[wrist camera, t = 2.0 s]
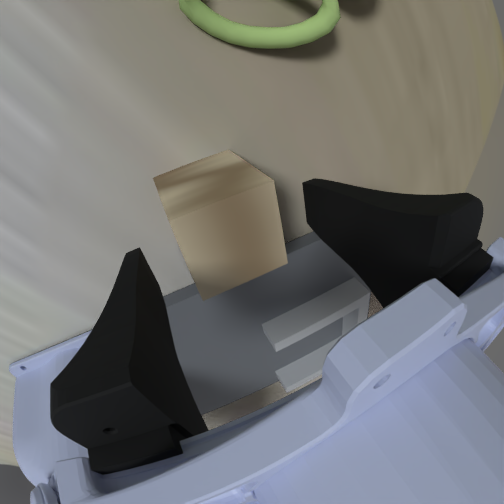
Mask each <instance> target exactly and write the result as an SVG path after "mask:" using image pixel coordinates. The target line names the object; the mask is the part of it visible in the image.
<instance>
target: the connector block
mask: <svg viewBox="0 0 504 504" xmlns="http://www.w3.org/2000/svg"><path fill="white" fill-rule="evenodd" d="M153 179H154V182H155V185H156V188H157V190H158V193H159V196H160V199H161V201H162V204H163V207H164V209H165V212H166V215H167V217H168V220H169V223H170V225H171V228H172V230H173V232H174V235H175V237H176V240H177V242H178V245H179V247H180V249H181V252H182V254H183V257H184V259H185V261H186V264H187V266H188V268H189V271H190V273H191V275H192V278H193V280H194V282H195V284H196V287H197V289H198V291H199V293H200V296H201V298H202V300H203V301H204V300H207V299H209V298H211V297H214V296H216V295H218V294H220V293H223V292H225V291H227V290H230V289H232V288H234V287H236V286H239V285H241V284H243V283H245V282H247V281H250V280H252V279H254V278H256V277H259V276H261V275H263V274H265V273H267V272H270V271H272V270H274V269H276V268H278V267H281V266H283V265H285V264H287V263H288V261H287V254H286V248H285V242H284V236H283V230H282V224H281V218H280V212H279V207H278V201H277V195H276V190H275V184H274V180H272V179H271V178H270V177H268V176H267V175H265V174H264V173H262V172H261V171H260V170H258V169H257V168H255V167H254V166H252V165H251V164H249V163H248V162H246V161H245V160H243V159H242V158H241V157H239V156H238V155H236V154H235V153H233V152H232V151H230V150H227V151H224V152H221V153H218V154H215V155H212V156H209V157H206V158H204V159H201V160H198V161H195V162H193V163H190V164H187V165H185V166H182V167H179V168H177V169H174V170H172V171H169V172H167V173H164V174H162V175H159V176H157V177H154V178H153Z"/></svg>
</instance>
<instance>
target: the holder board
mask: <svg viewBox="0 0 504 504" xmlns="http://www.w3.org/2000/svg"><path fill="white" fill-rule="evenodd" d="M285 248H286V254H287V261H288V263H287V264H285V265H283V266H281V267H278V268H276V269H274V270H272V271H270V272H267V273H265V274H263V275H261V276H259V277H256V278H254V279H252V280H250V281H247V282H245V283H243V284H241V285H239V286H236V287H234V288H232V289H230V290H227V291H225V292H223V293H220V294H218V295H216V296H214V297H211V298H209V299H207V300H204V301H203V300H202V298H201V296H200V293H199V291H198V289H197V287H196V284H195V283H194V284H192V285H189V286H187V287H185V288H182V289H180V290H178V291H175V292H173V293H171V294H168V295H166V296H164V297H163V298H164V301H165V304H166V309H167V314H168V318H169V323H170V328H171V332H172V337H173V341H174V346H175V350H176V353H177V357H178V360H179V362H180V365H181V368H182V371H183V373H184V376H185V378H186V381H187V383H188V386H189V388H190V391H191V393H192V396H193V398H194V400H195V402H196V405H197V407H198V409H199V411H200V414H201V415H203V414H205V413H208V412H210V411H213V410H215V409H218V408H220V407H222V406H225V405H227V404H229V403H232V402H234V401H236V400H239V399H241V398H243V397H245V396H247V395H250V394H252V393H254V392H256V391H258V390H260V389H263V388H265V387H267V386H269V385H271V384H273V383H275V382H277V381H280V383H281V384H282V386H283V388H284V389H285V391H286V393H287V392H289V391H291V390H293V389H295V388H297V387H299V386H301V385H303V384H305V383H307V382H308V381H310V380H312V379H314V378H316V377H318V376H319V375H321V374H322V368H323V364H324V361H325V359H326V356H327V353H328V351H329V350H330V349H331V348H332V347H333V345H334V344H335V343H336V342H337V341H338V339H339V338H340V337H341V336H343V335H344V334H345V333H347V332H348V331H349V330H351V329H352V328H353V327H354V326H356V325H357V324H359V323H361V322H362V321H364V320H366V319H367V318H368V311H369V303H370V295H371V290H370V289H369V287H368V286H367V285H366V284H365V282H364V281H363V280H362V279H361V278H360V276H359V275H358V274H357V273H356V272H355V271H354V270H353V269H352V268H351V267H350V266H349V265H348V264H347V263H346V262H345V261H344V260H343V259H342V258H341V257H340V256H338V255H337V254H336V253H335V252H334V251H333V250H332V249H331V248H330V247H329V246H328V245H327V244H325V243H324V242H323V241H322V240H321V239H320V238H319V237H318V235H317V234H316V233H315V232H314V231H313V232H311V233H309V234H306V235H304V236H302V237H300V238H297V239H295V240H293V241H291V242H288V243H286V244H285Z"/></svg>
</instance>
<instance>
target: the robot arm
mask: <svg viewBox="0 0 504 504" xmlns="http://www.w3.org/2000/svg"><path fill="white" fill-rule="evenodd" d="M302 184H303V192H304V201H305V209H306V218H307V223H308V224H309V226H310V227H311V228H312V229H313V231H314V232H315V233H316V234H317V235H318V237H319V238H320V239H321V240H322V241H323V242H324V243H325V244H327V245H328V246H329V247H330V248H331V249H332V250H333V251H334V252H335V253H336V254H337V255H338V256H340V257H341V258H342V259H343V260H344V261H345V262H346V263H347V264H348V265H349V266H350V267H351V268H352V269H353V270H354V271H355V272H356V273H357V274H358V275H359V276H360V278H361V279H362V280H363V281H364V282H365V284H366V285H367V286H368V287H369V289H370V290H371V291H372V293H373V294H374V295H375V297H376V298H377V299H378V301H379V302H380V303H381V305H382V306H383V309H382V310H380V311H379V312H377V313H375V314H374V315H372V316H370V317H369V318H367V319H366V320H364V321H362V322H361V323H359V324H357V325H356V326H354V327H353V328H352V329H351V330H349V331H348V332H347V333H345V334H344V335H343V336H341V337H340V338H339V339H338V341H337V342H336V343H335V344H334V345H333V347H332V348H331V349H330V350H329V351H328V353H327V356H326V359H325V361H324V364H323V368H322V378H320V379H319V380H317V381H315V382H313V383H311V384H309V385H307V386H306V387H304V388H302V389H300V390H298V391H296V392H294V393H292V394H290V395H288V396H286V397H284V398H282V399H280V400H278V401H276V402H274V403H272V404H270V405H267V406H265V407H263V408H261V409H259V410H257V411H254V412H252V413H250V414H248V415H245V416H243V417H241V418H238V419H236V420H234V421H231V422H229V423H227V424H224V425H222V426H219V427H217V428H214V429H211V430H208V428H207V426H206V424H205V422H204V420H203V418H202V416H201V414H200V411H199V409H198V407H197V405H196V402H195V400H194V398H193V396H192V393H191V391H190V388H189V386H188V383H187V381H186V378H185V376H184V373H183V371H182V368H181V365H180V362H179V360H178V357H177V353H176V350H175V346H174V341H173V337H172V332H171V328H170V323H169V318H168V314H167V309H166V304H165V301H164V298H163V295H162V292H161V289H160V286H159V284H158V282H157V280H156V278H155V276H154V274H153V272H152V271H151V269H150V267H149V265H148V263H147V261H146V259H145V257H144V255H143V253H142V251H141V249H140V247H139V248H137V249H135V250H133V251H130V252H128V253H126V255H125V257H124V260H123V262H122V265H121V268H120V271H119V274H118V276H117V279H116V282H115V284H114V287H113V289H112V292H111V294H110V296H109V299H108V301H107V303H106V306H105V308H104V310H103V312H102V314H101V315H100V317H99V319H98V321H97V323H96V324H95V326H94V328H93V329H92V330H91V331H88V332H86V333H84V334H81V335H79V336H76V337H74V338H72V339H69V340H67V341H65V342H62V343H60V344H57V345H55V346H53V347H50V348H48V349H45V350H43V351H41V352H38V353H36V354H33V355H31V356H29V357H26V358H24V359H21V360H19V361H17V362H14V363H12V364H10V365H9V371H10V372H11V373H12V374H13V375H14V376H15V377H16V383H15V394H14V409H13V448H14V452H15V456H16V459H17V462H18V464H19V466H20V468H21V470H22V471H23V473H24V475H25V476H26V477H27V478H28V480H29V481H30V482H32V484H33V485H35V486H36V488H35V489H33V490H32V491H31V495H30V504H504V373H503V372H502V371H501V370H500V369H499V368H498V367H497V366H496V365H495V364H494V363H493V362H492V361H491V359H490V358H489V357H488V356H487V355H486V354H484V351H485V350H486V348H487V347H488V346H489V345H490V344H491V342H492V341H493V340H494V339H495V337H496V336H497V335H498V334H499V332H500V331H501V330H502V329H503V327H504V239H503V238H502V237H499V238H498V239H497V240H496V241H494V242H493V243H492V244H491V245H490V246H489V247H488V249H487V251H484V250H483V249H482V248H481V247H482V242H481V241H479V240H478V239H477V237H478V233H479V230H480V226H481V222H482V217H483V205H482V202H481V200H480V199H478V198H477V197H475V196H473V195H471V194H469V193H458V194H447V195H415V194H400V193H392V192H384V191H378V190H373V189H367V188H362V187H357V186H353V185H348V184H343V183H339V182H334V181H329V180H323V179H312V180H309V181H306V182H303V183H302Z"/></svg>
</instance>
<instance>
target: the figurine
mask: <svg viewBox="0 0 504 504" xmlns="http://www.w3.org/2000/svg"><path fill="white" fill-rule="evenodd" d="M179 6H180V9H181V11H182V12H183V13H184V14H185V15H186V16H187V17H188V18H189V19H190V20H191V21H192V23H194V24H195V25H197V26H198V27H200V28H201V29H202V30H204V31H205V32H207V33H208V34H209V35H212V36H214V37H216V38H219V39H221V40H223V41H225V42H228V43H230V44H235V45H240V46H245V47H249V48H265V49H276V48H292V47H295V46H299V45H303V44H307V43H311V42H313V41H315V40H317V39H319V38H321V37H323V36H324V35H326V34H328V33H330V32H331V31H332V29H333V28H334V26H335V25H336V24H337V22H338V21H339V19H340V18H341V17H340V10H339V4H338V0H322V4H321V6H320V8H319V10H318V12H317V14H316V15H314V16H312V17H311V18H309V19H307V20H305V21H304V22H302V23H298V24H294V25H290V26H287V27H257V26H248V25H244V24H240V23H236V22H232V21H230V20H228V19H226V18H224V17H222V16H220V15H219V14H217V13H215V12H214V11H212V10H211V9H210V8H209V7H208V6H206V5H205V4H204V3H203V2H202V1H201V0H179Z"/></svg>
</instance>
